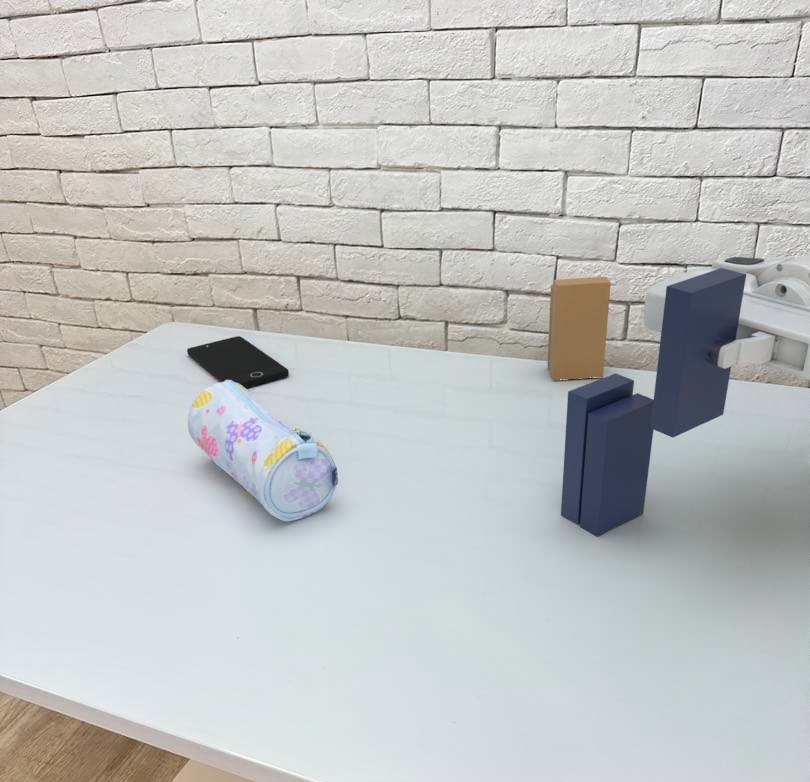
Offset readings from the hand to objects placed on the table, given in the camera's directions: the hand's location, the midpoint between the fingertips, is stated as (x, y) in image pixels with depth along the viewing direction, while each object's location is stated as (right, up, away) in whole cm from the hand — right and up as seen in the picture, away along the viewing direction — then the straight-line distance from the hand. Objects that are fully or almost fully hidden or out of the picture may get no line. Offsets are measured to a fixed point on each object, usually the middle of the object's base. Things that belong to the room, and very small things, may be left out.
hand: (696, 350), depth 69 cm
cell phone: (-48, +10, +57) cm, 75 cm away
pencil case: (-39, -9, +27) cm, 48 cm away
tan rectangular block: (0, +8, +48) cm, 49 cm away
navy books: (-4, -13, +18) cm, 22 cm away
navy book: (0, -5, +4) cm, 6 cm away
